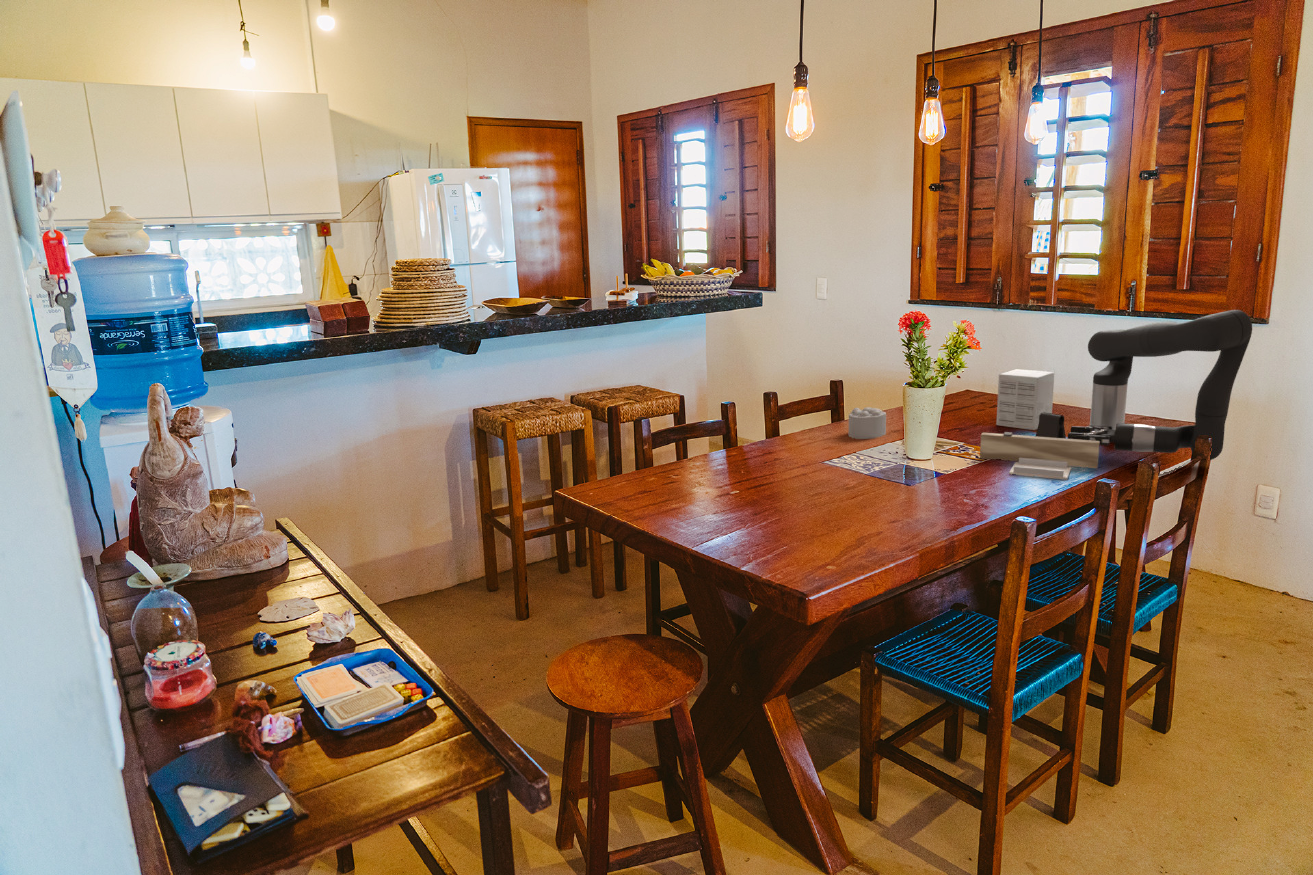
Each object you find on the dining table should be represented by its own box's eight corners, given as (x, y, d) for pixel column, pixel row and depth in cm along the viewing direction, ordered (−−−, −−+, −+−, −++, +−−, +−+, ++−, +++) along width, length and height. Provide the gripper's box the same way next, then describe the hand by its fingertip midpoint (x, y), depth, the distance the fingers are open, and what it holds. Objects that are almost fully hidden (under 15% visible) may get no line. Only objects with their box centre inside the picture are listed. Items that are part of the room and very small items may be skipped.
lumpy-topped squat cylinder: (890, 433, 273) (890, 407, 271) (867, 441, 264) (868, 414, 262) (863, 429, 280) (863, 404, 278) (840, 436, 272) (840, 410, 270)
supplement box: (1013, 418, 285) (1015, 368, 281) (1052, 423, 276) (1055, 371, 272) (995, 425, 277) (997, 373, 273) (1034, 430, 267) (1038, 377, 263)
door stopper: (1049, 449, 243) (1051, 410, 241) (1068, 453, 238) (1071, 413, 236) (1030, 455, 239) (1032, 414, 236) (1049, 459, 234) (1052, 417, 231)
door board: (981, 455, 240) (982, 430, 238) (1097, 465, 225) (1099, 438, 223) (979, 458, 238) (981, 432, 236) (1097, 468, 223) (1099, 441, 221)
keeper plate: (1015, 464, 230) (1015, 456, 230) (1071, 469, 223) (1071, 461, 222) (1009, 474, 221) (1009, 466, 221) (1067, 479, 214) (1067, 471, 213)
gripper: (1136, 419, 231) (1072, 415, 240) (1135, 429, 220) (1067, 425, 228) (1134, 444, 233) (1070, 440, 241) (1132, 456, 221) (1065, 451, 230)
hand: (1069, 433), depth 235 cm, fingers open, 8 cm apart
